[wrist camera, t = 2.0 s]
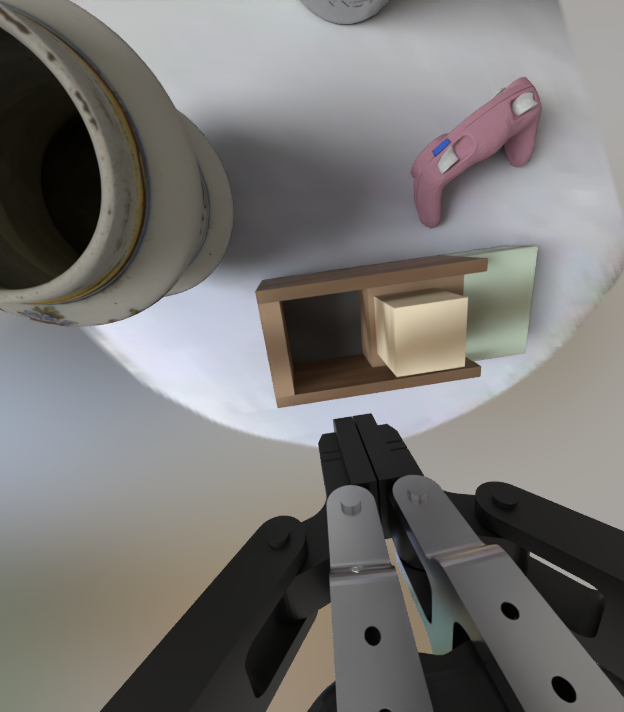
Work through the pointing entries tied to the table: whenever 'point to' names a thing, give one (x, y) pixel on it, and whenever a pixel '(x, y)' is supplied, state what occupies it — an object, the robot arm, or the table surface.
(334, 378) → the channel
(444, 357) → the maple block
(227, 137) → the table surface
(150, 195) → the apothecary jar
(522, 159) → the video game controller
